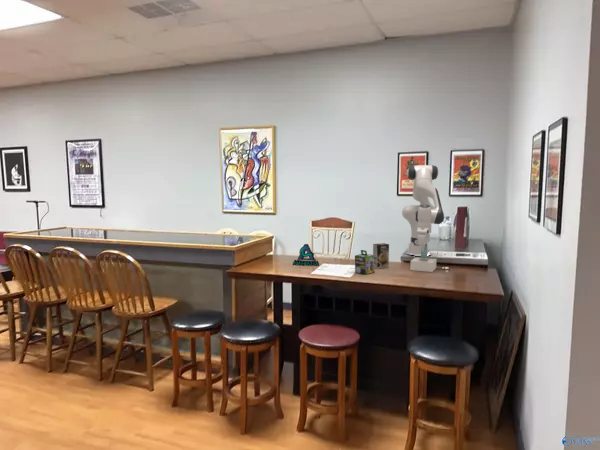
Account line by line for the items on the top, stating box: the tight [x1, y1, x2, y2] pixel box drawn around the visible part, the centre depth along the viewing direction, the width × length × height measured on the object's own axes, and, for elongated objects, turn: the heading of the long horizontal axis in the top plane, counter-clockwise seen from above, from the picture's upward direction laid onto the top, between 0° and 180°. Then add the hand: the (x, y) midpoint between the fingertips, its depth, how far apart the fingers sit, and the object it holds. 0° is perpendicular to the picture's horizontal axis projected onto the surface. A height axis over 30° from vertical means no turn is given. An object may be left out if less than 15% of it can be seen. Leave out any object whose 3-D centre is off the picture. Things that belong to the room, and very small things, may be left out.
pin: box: [420, 243, 428, 259], centre depth 273 cm, size 4×4×10 cm
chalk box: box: [354, 249, 375, 276], centre depth 266 cm, size 9×9×15 cm
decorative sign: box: [292, 243, 320, 267], centre depth 291 cm, size 19×2×15 cm, turn 76°
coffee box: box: [372, 242, 390, 270], centre depth 280 cm, size 9×6×16 cm
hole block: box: [409, 256, 437, 273], centre depth 275 cm, size 14×14×6 cm
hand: (423, 250), depth 273 cm, fingers closed on pin, 4 cm apart
